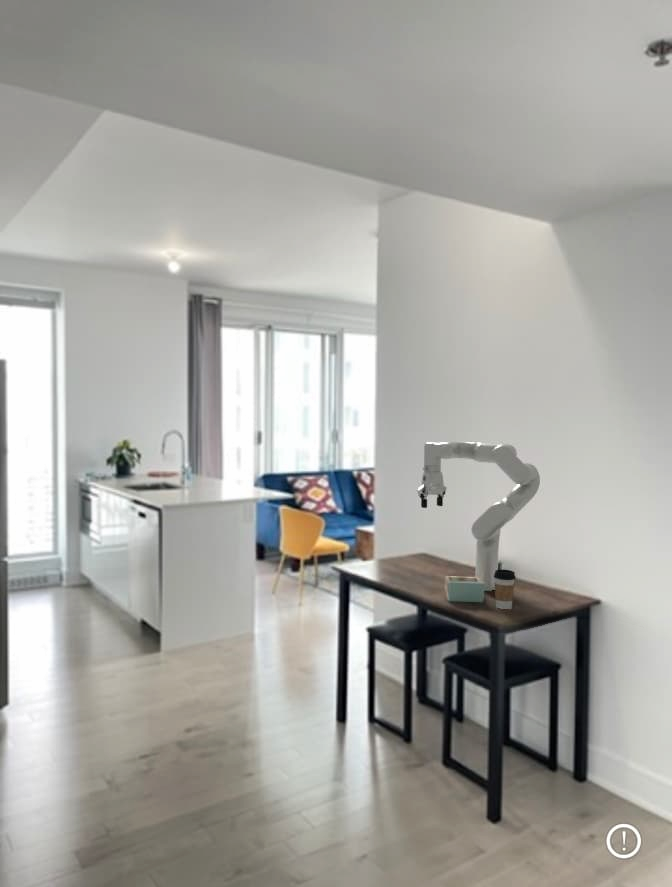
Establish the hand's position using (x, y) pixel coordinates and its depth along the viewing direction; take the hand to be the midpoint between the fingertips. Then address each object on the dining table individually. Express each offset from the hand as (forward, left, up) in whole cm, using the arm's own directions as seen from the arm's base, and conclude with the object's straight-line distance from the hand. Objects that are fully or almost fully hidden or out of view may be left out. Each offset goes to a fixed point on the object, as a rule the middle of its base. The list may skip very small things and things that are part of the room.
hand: (432, 506), depth 307 cm
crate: (-12, +27, -34) cm, 44 cm away
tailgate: (-12, +34, -33) cm, 49 cm away
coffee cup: (-26, +41, -34) cm, 59 cm away
